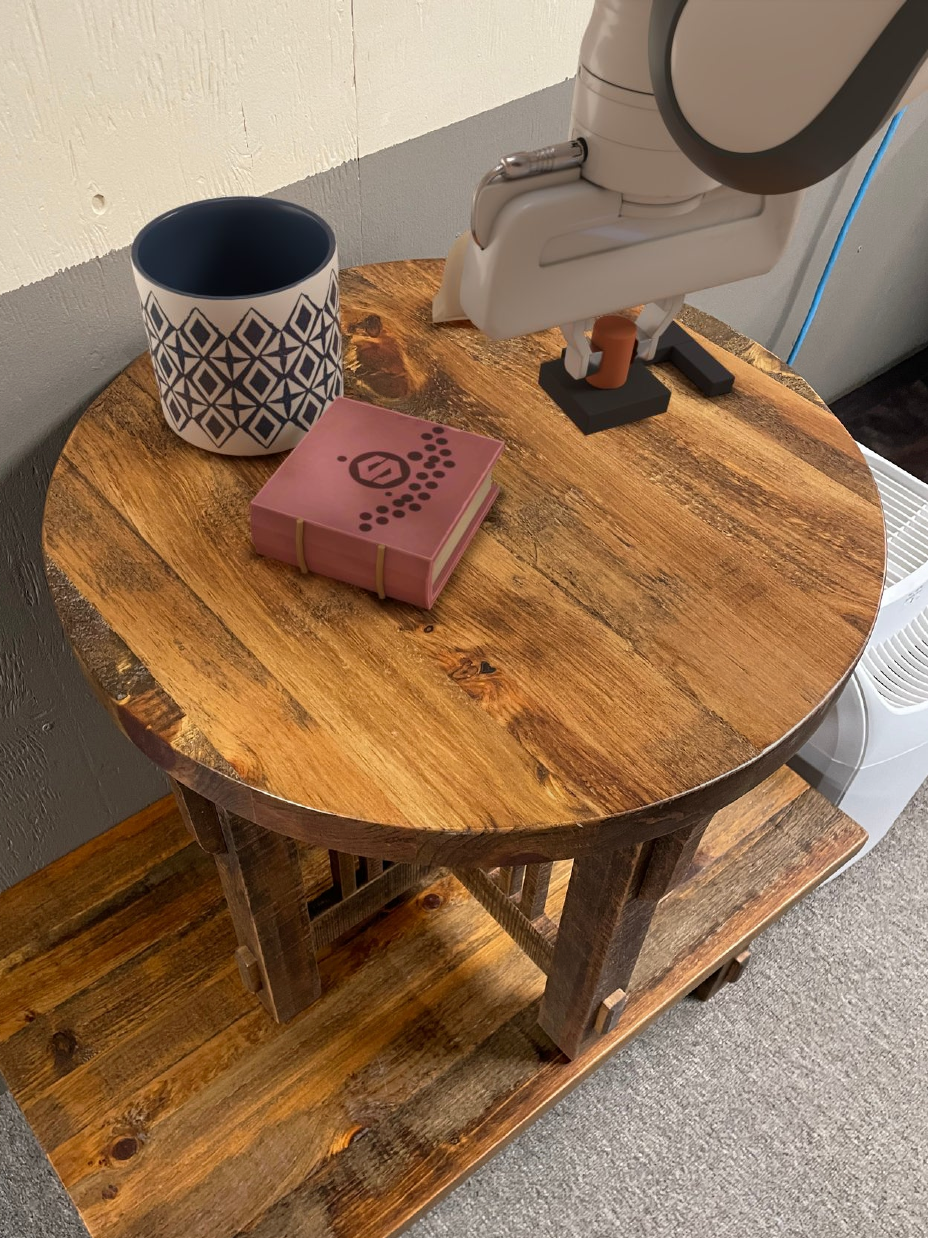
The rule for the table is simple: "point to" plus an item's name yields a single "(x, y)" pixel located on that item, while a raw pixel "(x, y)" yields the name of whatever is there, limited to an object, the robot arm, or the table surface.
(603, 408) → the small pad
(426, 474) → the book
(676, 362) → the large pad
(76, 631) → the table surface
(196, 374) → the planter
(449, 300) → the decorative ornament
